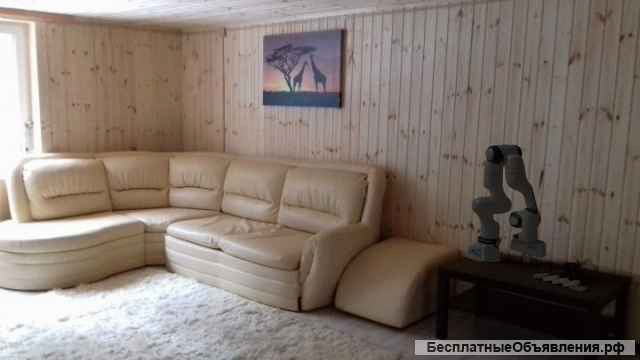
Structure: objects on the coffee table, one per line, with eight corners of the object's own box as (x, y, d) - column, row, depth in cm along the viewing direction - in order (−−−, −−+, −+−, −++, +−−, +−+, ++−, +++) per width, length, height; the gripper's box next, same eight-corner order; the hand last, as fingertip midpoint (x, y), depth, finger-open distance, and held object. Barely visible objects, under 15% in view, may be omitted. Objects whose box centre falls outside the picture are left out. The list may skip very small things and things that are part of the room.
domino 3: (551, 280, 306) (563, 279, 301) (556, 279, 309) (568, 277, 303) (552, 283, 306) (564, 282, 301) (557, 282, 309) (569, 281, 303)
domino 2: (542, 277, 310) (554, 276, 305) (547, 276, 313) (558, 275, 308) (543, 281, 310) (555, 280, 305) (547, 279, 313) (559, 278, 308)
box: (569, 277, 318) (570, 264, 317) (563, 274, 323) (564, 262, 323) (579, 277, 319) (580, 264, 318) (572, 274, 325) (573, 261, 324)
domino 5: (568, 285, 299) (582, 289, 294) (572, 284, 302) (586, 287, 297) (568, 289, 299) (581, 292, 294) (572, 287, 302) (585, 290, 297)
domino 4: (562, 283, 301) (573, 281, 296) (567, 281, 304) (579, 279, 298) (563, 286, 301) (575, 285, 295) (568, 284, 303) (580, 283, 298)
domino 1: (532, 275, 315) (544, 274, 310) (536, 273, 318) (548, 272, 312) (533, 278, 315) (544, 277, 309) (537, 277, 318) (549, 276, 312)
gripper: (549, 240, 313) (547, 265, 316) (516, 232, 329) (513, 256, 331) (543, 242, 309) (540, 267, 312) (509, 234, 325) (507, 257, 327)
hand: (526, 261), depth 322 cm, fingers closed
